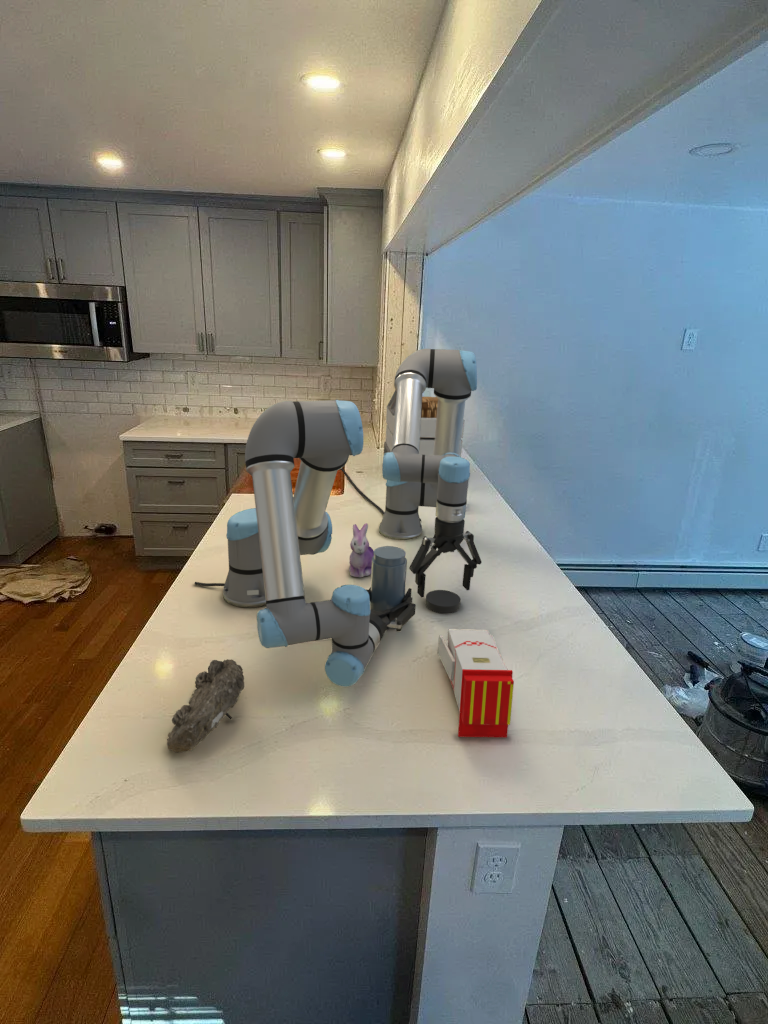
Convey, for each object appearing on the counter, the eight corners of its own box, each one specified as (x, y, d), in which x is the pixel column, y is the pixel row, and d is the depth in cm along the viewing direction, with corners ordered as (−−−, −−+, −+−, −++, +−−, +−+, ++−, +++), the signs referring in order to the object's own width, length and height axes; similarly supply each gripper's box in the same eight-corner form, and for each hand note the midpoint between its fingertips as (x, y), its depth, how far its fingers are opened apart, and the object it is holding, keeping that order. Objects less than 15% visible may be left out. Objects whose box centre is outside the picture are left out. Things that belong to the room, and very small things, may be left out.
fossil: (192, 660, 117) (244, 628, 112) (224, 691, 120) (276, 661, 115) (142, 746, 98) (202, 712, 93) (182, 779, 101) (242, 748, 96)
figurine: (354, 581, 164) (356, 533, 159) (340, 567, 172) (341, 520, 167) (383, 575, 168) (386, 528, 163) (368, 562, 176) (370, 516, 171)
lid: (461, 615, 148) (462, 607, 148) (425, 612, 149) (426, 605, 148) (458, 597, 157) (459, 590, 156) (424, 595, 158) (425, 588, 157)
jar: (362, 618, 144) (364, 551, 138) (386, 608, 150) (389, 542, 144) (386, 632, 139) (389, 562, 132) (410, 621, 144) (414, 553, 138)
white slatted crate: (382, 463, 289) (386, 382, 275) (445, 464, 293) (451, 384, 279) (390, 482, 257) (394, 392, 243) (460, 483, 261) (468, 394, 247)
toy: (488, 613, 130) (523, 677, 101) (484, 667, 133) (517, 744, 104) (435, 612, 130) (455, 676, 101) (432, 666, 133) (451, 743, 103)
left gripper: (320, 639, 130) (353, 595, 151) (410, 658, 125) (431, 610, 145) (320, 610, 127) (353, 570, 148) (412, 628, 122) (434, 583, 143)
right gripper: (411, 528, 137) (406, 605, 145) (500, 518, 146) (491, 591, 153) (399, 517, 144) (395, 591, 151) (485, 508, 152) (477, 578, 160)
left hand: (392, 589), depth 146 cm, fingers closed on jar, 9 cm apart
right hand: (443, 591), depth 152 cm, fingers open, 13 cm apart
